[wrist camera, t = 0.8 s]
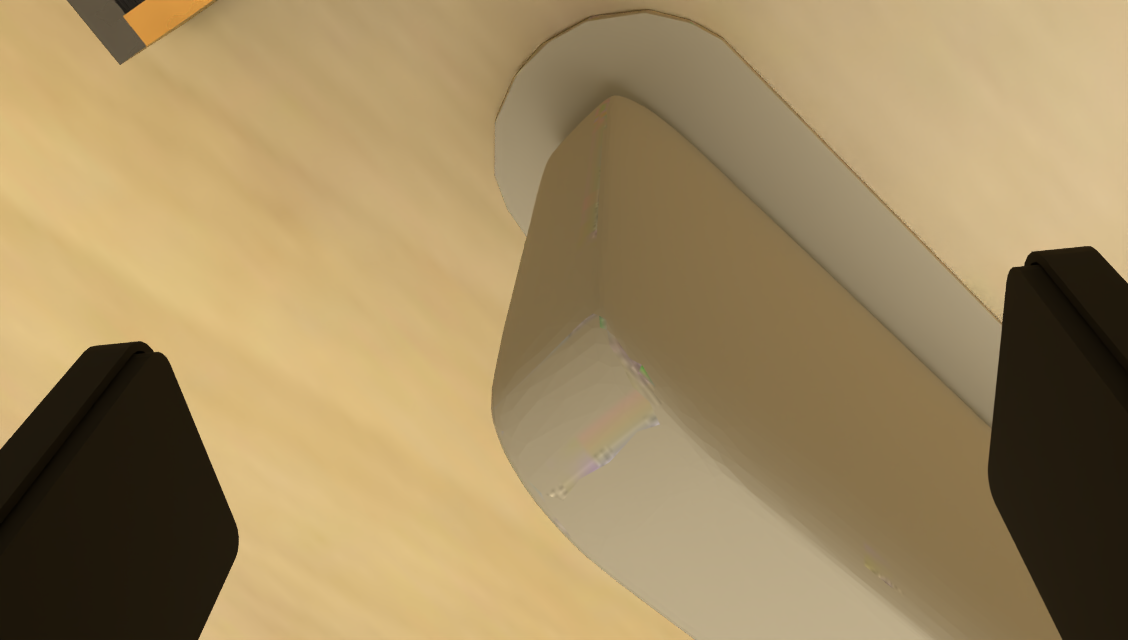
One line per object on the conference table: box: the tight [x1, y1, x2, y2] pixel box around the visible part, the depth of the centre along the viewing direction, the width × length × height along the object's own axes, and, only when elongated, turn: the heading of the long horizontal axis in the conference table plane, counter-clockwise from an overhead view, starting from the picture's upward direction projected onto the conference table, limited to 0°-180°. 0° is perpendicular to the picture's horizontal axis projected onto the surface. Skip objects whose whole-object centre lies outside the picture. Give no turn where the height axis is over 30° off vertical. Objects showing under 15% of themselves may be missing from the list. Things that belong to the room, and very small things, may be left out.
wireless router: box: [491, 10, 1062, 640], centre depth 30 cm, size 31×10×20 cm, turn 47°
